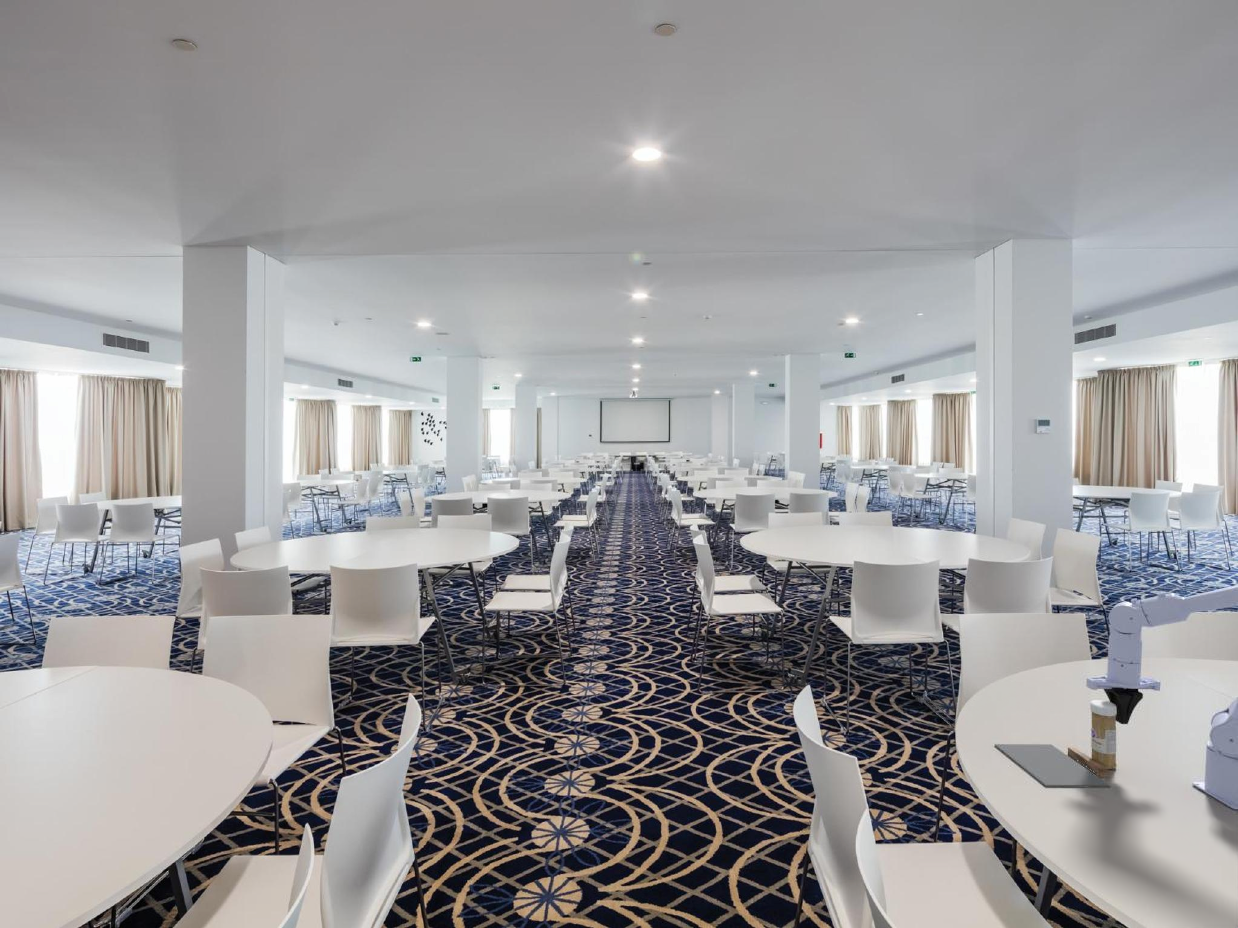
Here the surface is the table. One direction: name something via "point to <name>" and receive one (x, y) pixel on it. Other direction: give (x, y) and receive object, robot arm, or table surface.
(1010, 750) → the rubber mat
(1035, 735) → the table surface
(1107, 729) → the sprinkles bottle
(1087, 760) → the walnut rail
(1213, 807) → the table surface
